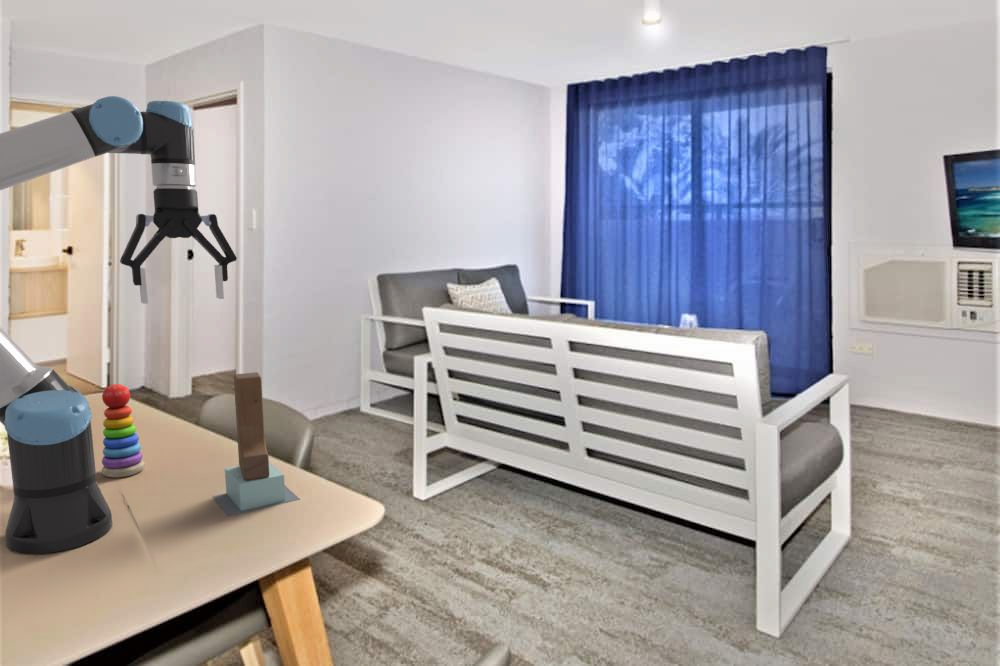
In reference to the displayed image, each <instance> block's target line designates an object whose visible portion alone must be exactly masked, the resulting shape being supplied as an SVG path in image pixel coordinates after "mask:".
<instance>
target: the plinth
mask: <svg viewBox="0 0 1000 666" xmlns="http://www.w3.org/2000/svg"><path fill="white" fill-rule="evenodd" d="M224 477H225V479H224V480H225V492H226V494H227V495H228V496H229V497H230V498H231V499H232V501H233V502H234V503H235V504H236V505H237V506H238V508H239V509H240V510H241V511H242V510H246V509H251V508H255V507H260V506H264V505H268V504H273V503H277V502H281V501H285V486H286V485H285V474H284V473H282V472H281V471H280V470H279V469H278V468H277V467H275V465H274V464H272V463H271V462H270V461H269V477H267V478H260V479H253V480H244V479H243V476H242V473H241V469H240V466H239V465H234V466H230V467H229V466H228V467H224Z"/></svg>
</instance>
